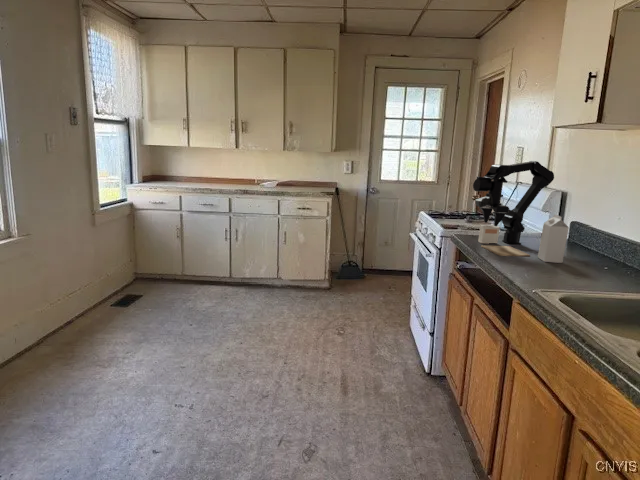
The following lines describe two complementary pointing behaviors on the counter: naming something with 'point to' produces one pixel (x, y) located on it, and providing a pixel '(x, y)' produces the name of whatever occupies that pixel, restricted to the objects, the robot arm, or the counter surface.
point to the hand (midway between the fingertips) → (490, 224)
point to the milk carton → (553, 240)
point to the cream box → (488, 234)
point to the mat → (505, 250)
